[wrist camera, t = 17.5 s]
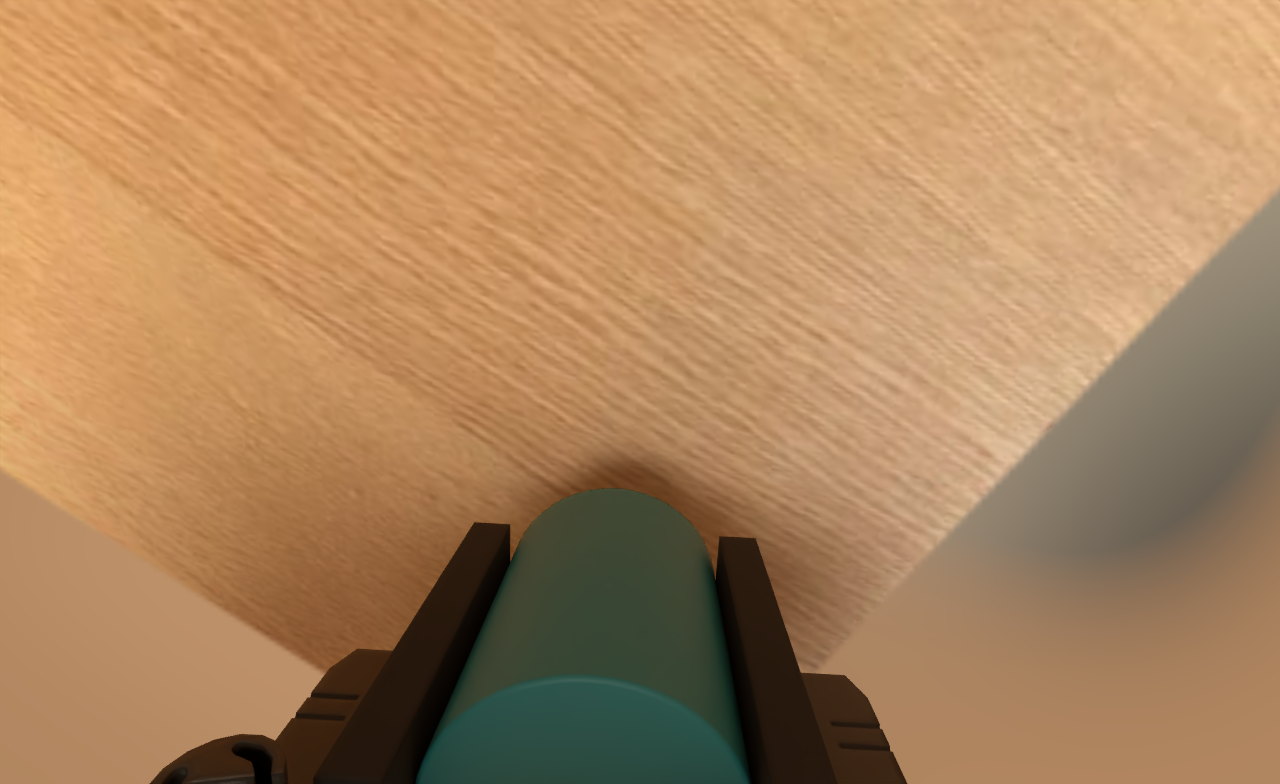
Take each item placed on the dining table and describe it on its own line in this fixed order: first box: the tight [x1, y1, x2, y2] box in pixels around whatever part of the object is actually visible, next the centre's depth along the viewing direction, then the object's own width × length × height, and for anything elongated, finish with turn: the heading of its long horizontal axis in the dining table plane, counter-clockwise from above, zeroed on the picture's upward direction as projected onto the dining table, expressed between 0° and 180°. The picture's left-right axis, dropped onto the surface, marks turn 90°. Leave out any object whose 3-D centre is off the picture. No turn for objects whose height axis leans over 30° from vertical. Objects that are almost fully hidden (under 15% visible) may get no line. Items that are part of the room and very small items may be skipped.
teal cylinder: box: [415, 488, 752, 784], centre depth 11 cm, size 4×4×6 cm
